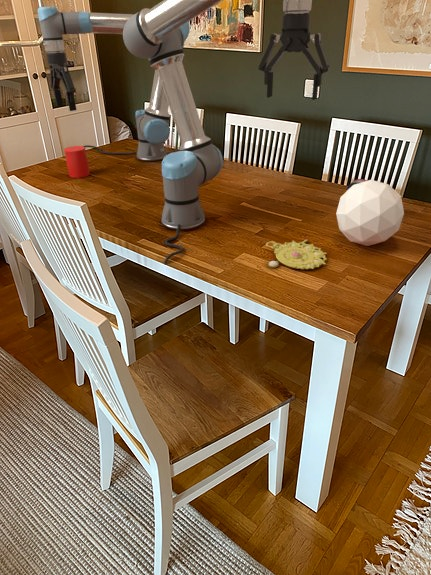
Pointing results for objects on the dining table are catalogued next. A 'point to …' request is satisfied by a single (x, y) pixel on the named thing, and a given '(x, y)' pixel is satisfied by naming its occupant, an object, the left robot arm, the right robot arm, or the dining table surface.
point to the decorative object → (297, 255)
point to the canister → (77, 161)
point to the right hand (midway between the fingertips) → (291, 98)
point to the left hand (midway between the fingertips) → (66, 108)
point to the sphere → (369, 212)
